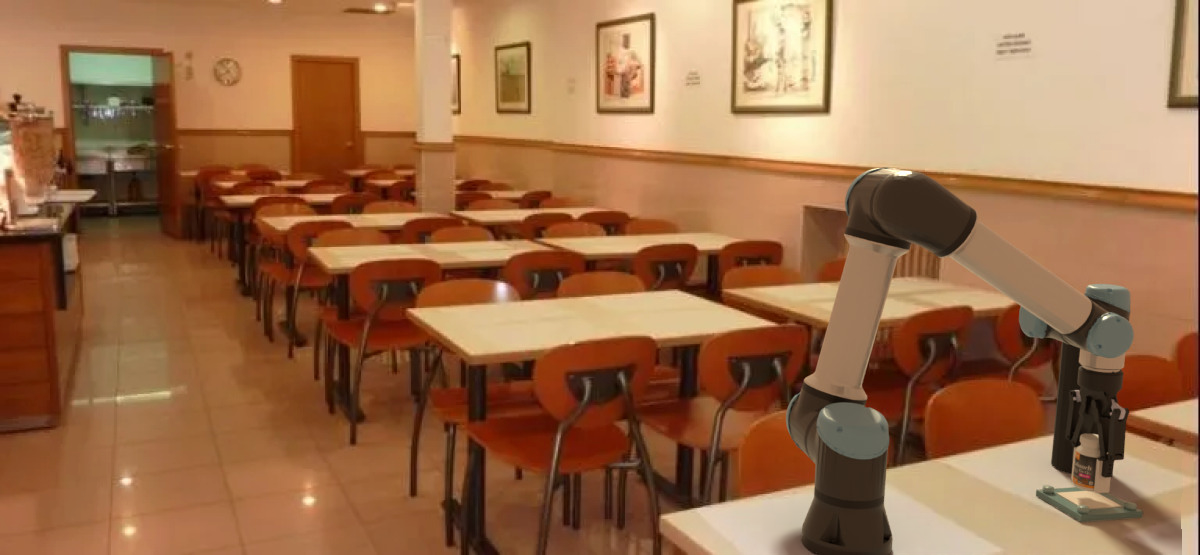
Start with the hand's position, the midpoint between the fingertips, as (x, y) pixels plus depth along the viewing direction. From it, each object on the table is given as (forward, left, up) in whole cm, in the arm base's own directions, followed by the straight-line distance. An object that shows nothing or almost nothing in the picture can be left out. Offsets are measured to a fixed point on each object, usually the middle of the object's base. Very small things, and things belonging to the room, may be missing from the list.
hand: (1089, 485), depth 187 cm
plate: (0, 0, -4) cm, 4 cm away
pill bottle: (0, 0, -1) cm, 1 cm away
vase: (+12, +20, -4) cm, 24 cm away
